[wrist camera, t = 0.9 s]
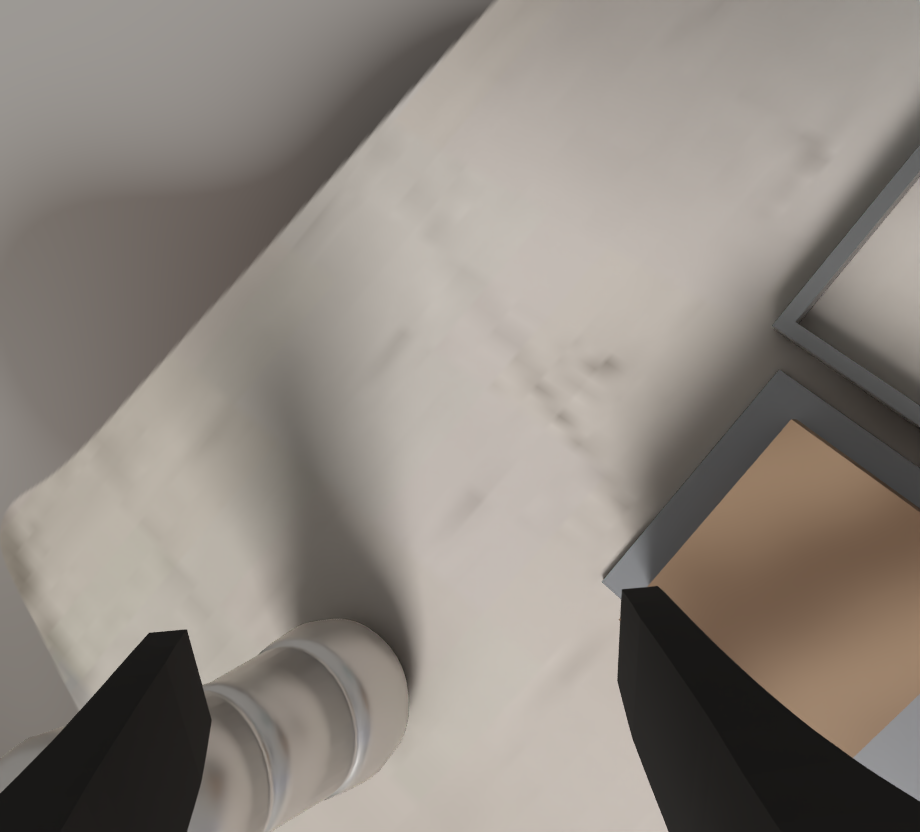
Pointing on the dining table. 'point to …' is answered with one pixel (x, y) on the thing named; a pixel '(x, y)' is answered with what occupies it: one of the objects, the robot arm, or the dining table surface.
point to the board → (916, 727)
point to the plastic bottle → (288, 727)
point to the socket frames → (829, 271)
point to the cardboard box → (811, 586)
